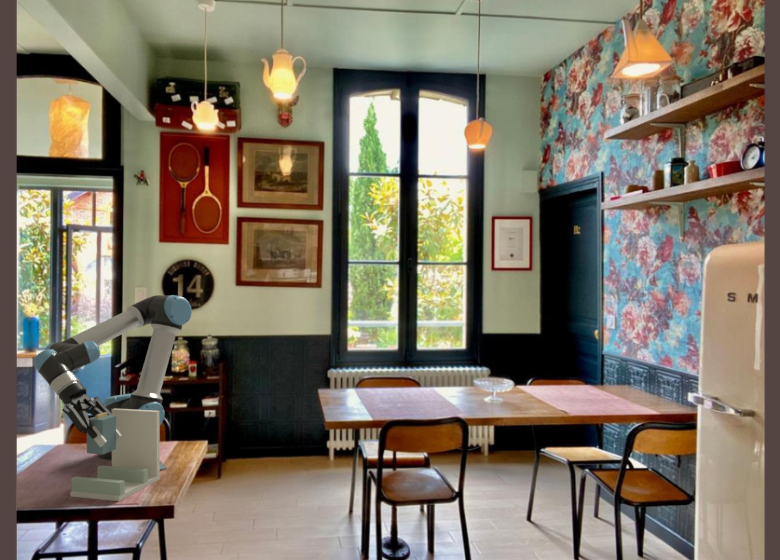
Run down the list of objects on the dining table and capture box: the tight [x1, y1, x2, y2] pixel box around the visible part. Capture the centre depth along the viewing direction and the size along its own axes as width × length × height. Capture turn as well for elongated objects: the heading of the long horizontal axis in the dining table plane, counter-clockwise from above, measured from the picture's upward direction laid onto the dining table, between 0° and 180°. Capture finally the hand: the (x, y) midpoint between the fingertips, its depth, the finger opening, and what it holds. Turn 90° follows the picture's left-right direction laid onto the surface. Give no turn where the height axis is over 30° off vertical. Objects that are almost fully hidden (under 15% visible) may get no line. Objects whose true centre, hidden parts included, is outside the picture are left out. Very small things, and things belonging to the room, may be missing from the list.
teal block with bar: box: [86, 412, 116, 455], centre depth 180 cm, size 6×6×12 cm
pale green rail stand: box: [69, 409, 161, 502], centre depth 182 cm, size 20×18×24 cm
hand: (111, 441), depth 179 cm, fingers closed on teal block with bar, 6 cm apart
